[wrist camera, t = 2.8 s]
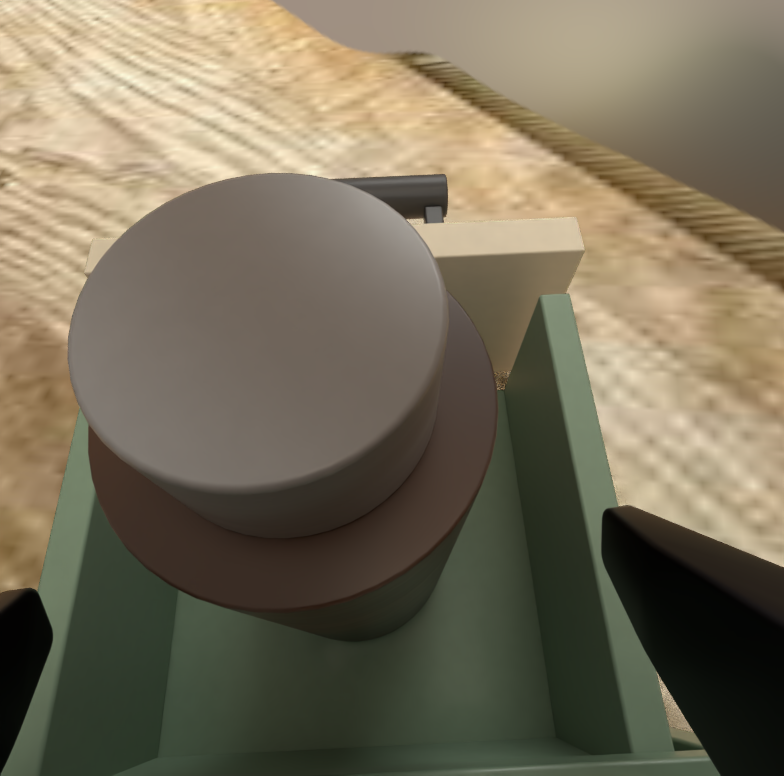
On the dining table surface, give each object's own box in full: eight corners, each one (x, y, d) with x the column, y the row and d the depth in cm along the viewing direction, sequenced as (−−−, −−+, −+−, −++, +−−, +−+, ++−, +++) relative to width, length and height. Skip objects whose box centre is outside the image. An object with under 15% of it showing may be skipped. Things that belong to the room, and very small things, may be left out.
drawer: (193, 271, 23) (119, 131, 17) (511, 256, 23) (550, 112, 17) (118, 788, 15) (-73, 875, 9) (602, 764, 15) (736, 833, 9)
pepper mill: (356, 686, 15) (223, 767, 4) (229, 549, 17) (-125, 324, 5) (479, 538, 17) (640, 289, 6) (353, 427, 18) (277, 64, 7)
